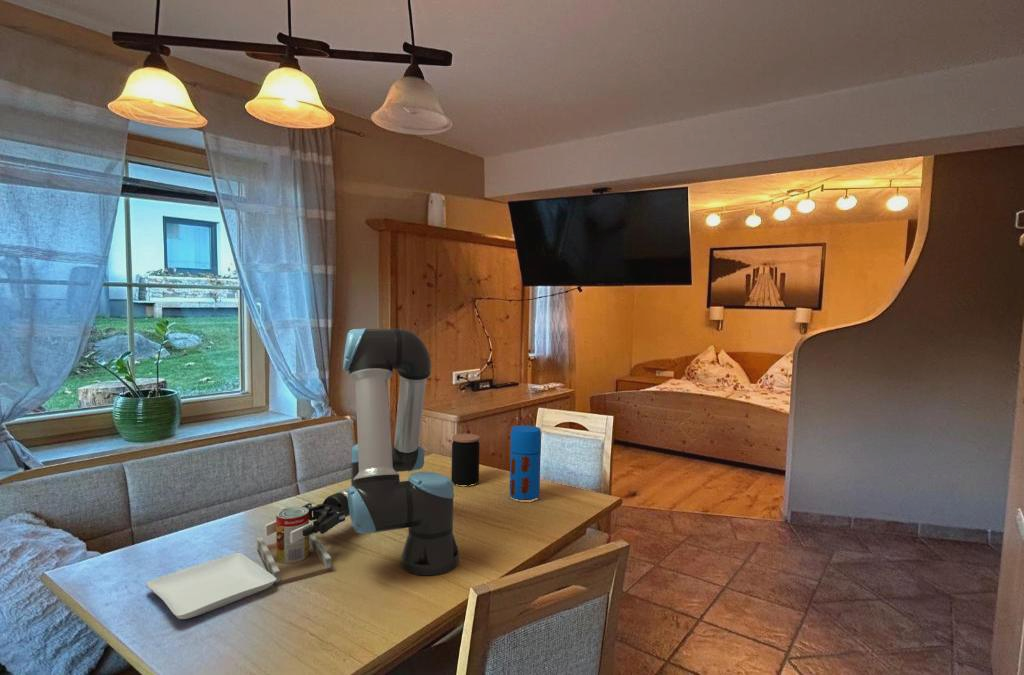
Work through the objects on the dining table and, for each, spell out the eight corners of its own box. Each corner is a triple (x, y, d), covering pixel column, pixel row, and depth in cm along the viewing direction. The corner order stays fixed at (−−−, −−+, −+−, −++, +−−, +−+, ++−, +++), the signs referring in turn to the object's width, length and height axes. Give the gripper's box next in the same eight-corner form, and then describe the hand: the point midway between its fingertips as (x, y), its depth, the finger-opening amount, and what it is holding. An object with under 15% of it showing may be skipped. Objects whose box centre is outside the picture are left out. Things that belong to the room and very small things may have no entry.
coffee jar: (480, 479, 208) (481, 434, 207) (476, 488, 197) (477, 440, 196) (454, 477, 209) (455, 433, 208) (448, 486, 198) (449, 439, 197)
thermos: (539, 503, 183) (541, 432, 182) (509, 502, 183) (510, 431, 182) (538, 492, 194) (540, 425, 193) (509, 491, 194) (511, 425, 193)
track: (331, 571, 133) (331, 557, 133) (274, 586, 125) (274, 572, 125) (308, 539, 151) (308, 527, 151) (257, 550, 143) (257, 538, 143)
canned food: (303, 547, 144) (303, 504, 143) (313, 557, 138) (313, 513, 137) (272, 555, 139) (272, 510, 138) (281, 566, 133) (281, 520, 132)
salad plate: (239, 562, 137) (238, 549, 137) (278, 591, 124) (278, 577, 124) (143, 595, 121) (143, 581, 121) (177, 633, 107) (177, 616, 107)
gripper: (370, 524, 150) (309, 557, 129) (314, 510, 159) (249, 540, 138) (370, 498, 149) (309, 527, 129) (314, 486, 158) (249, 512, 138)
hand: (278, 534), depth 133 cm, fingers open, 8 cm apart
